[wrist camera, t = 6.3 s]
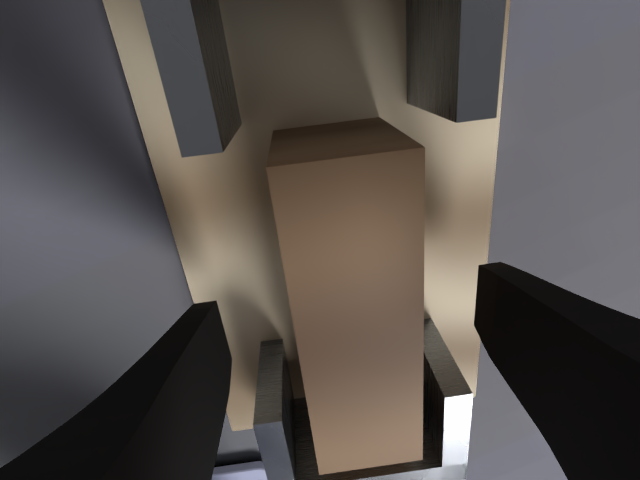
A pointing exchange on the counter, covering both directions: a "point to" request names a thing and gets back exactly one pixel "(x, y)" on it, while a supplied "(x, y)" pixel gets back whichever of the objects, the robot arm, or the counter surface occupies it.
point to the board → (298, 111)
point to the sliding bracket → (421, 63)
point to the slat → (355, 284)
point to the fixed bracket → (417, 476)
